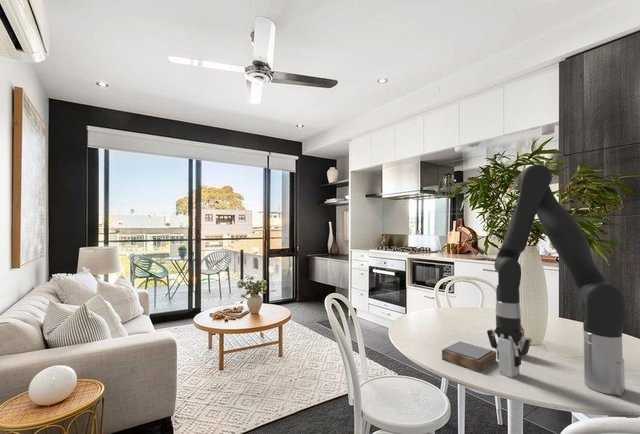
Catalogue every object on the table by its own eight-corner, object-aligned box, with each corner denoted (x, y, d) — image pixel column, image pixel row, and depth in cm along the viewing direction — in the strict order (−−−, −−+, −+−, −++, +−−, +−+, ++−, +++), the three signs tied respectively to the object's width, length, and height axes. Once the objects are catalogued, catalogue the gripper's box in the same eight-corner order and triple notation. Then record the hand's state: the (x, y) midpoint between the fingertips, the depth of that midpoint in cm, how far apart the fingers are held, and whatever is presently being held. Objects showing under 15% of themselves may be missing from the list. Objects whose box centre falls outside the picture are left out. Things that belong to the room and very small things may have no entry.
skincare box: (511, 378, 108) (511, 342, 108) (498, 373, 112) (497, 338, 112) (520, 373, 112) (519, 338, 112) (506, 368, 115) (505, 334, 115)
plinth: (496, 361, 122) (495, 350, 122) (479, 372, 113) (479, 360, 113) (460, 350, 132) (459, 340, 132) (442, 359, 123) (441, 348, 123)
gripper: (535, 316, 109) (536, 367, 109) (491, 308, 120) (492, 354, 120) (527, 321, 104) (528, 374, 104) (482, 312, 115) (483, 360, 115)
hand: (509, 363), depth 112 cm, fingers closed on skincare box, 4 cm apart
